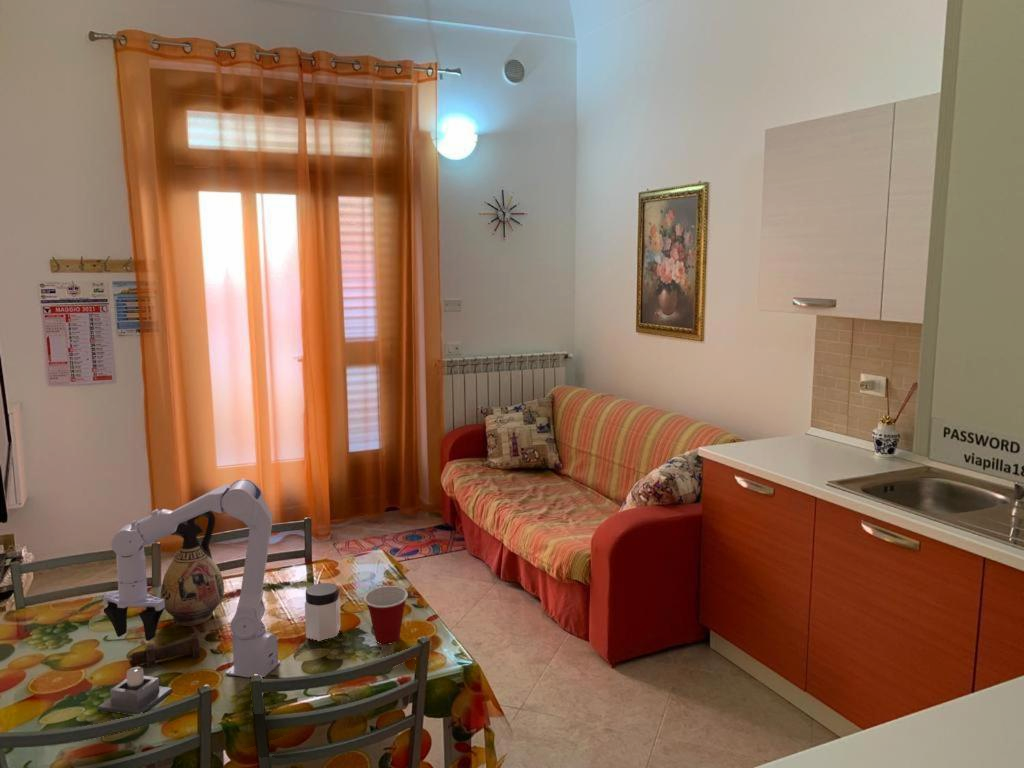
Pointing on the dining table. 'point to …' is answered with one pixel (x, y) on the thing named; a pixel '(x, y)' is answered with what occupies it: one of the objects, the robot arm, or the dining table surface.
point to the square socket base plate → (135, 697)
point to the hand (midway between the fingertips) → (136, 636)
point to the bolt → (166, 652)
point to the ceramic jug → (193, 576)
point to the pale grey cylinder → (135, 678)
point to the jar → (322, 611)
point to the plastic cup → (386, 612)
